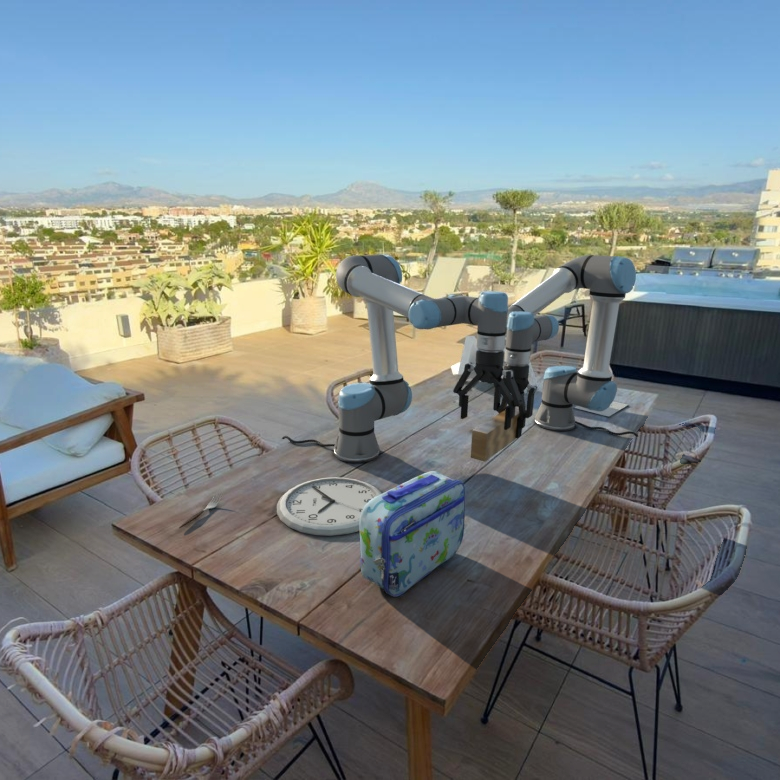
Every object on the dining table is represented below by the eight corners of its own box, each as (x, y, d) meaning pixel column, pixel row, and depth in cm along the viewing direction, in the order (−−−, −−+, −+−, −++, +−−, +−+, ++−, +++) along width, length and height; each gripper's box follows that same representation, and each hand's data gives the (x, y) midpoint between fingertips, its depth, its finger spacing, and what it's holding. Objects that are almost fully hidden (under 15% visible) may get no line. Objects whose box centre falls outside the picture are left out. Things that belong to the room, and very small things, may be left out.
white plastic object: (472, 423, 260) (450, 400, 235) (454, 348, 282) (432, 320, 258) (544, 398, 248) (529, 371, 223) (519, 323, 270) (503, 291, 245)
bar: (508, 431, 169) (510, 406, 167) (521, 435, 167) (523, 410, 164) (470, 457, 150) (472, 429, 147) (484, 461, 147) (487, 433, 145)
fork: (174, 529, 130) (174, 521, 130) (216, 499, 144) (215, 492, 144) (183, 531, 129) (182, 524, 129) (223, 501, 144) (223, 494, 143)
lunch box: (388, 609, 104) (390, 516, 98) (353, 583, 111) (352, 496, 105) (468, 555, 122) (474, 474, 115) (433, 536, 129) (437, 458, 123)
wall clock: (392, 527, 129) (268, 531, 127) (391, 533, 130) (269, 537, 127) (383, 473, 158) (282, 475, 155) (383, 478, 158) (282, 480, 156)
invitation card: (608, 416, 214) (573, 407, 224) (608, 416, 214) (573, 408, 224) (628, 404, 229) (594, 396, 238) (628, 405, 229) (594, 397, 238)
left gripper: (443, 345, 146) (440, 416, 152) (528, 359, 132) (521, 437, 138) (457, 341, 152) (453, 410, 158) (539, 353, 137) (532, 429, 144)
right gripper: (484, 361, 160) (479, 431, 167) (540, 370, 150) (532, 445, 157) (495, 356, 166) (490, 425, 173) (549, 365, 156) (541, 438, 163)
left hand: (485, 423), depth 148 cm, fingers open, 13 cm apart
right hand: (510, 434), depth 165 cm, fingers closed on bar, 5 cm apart
